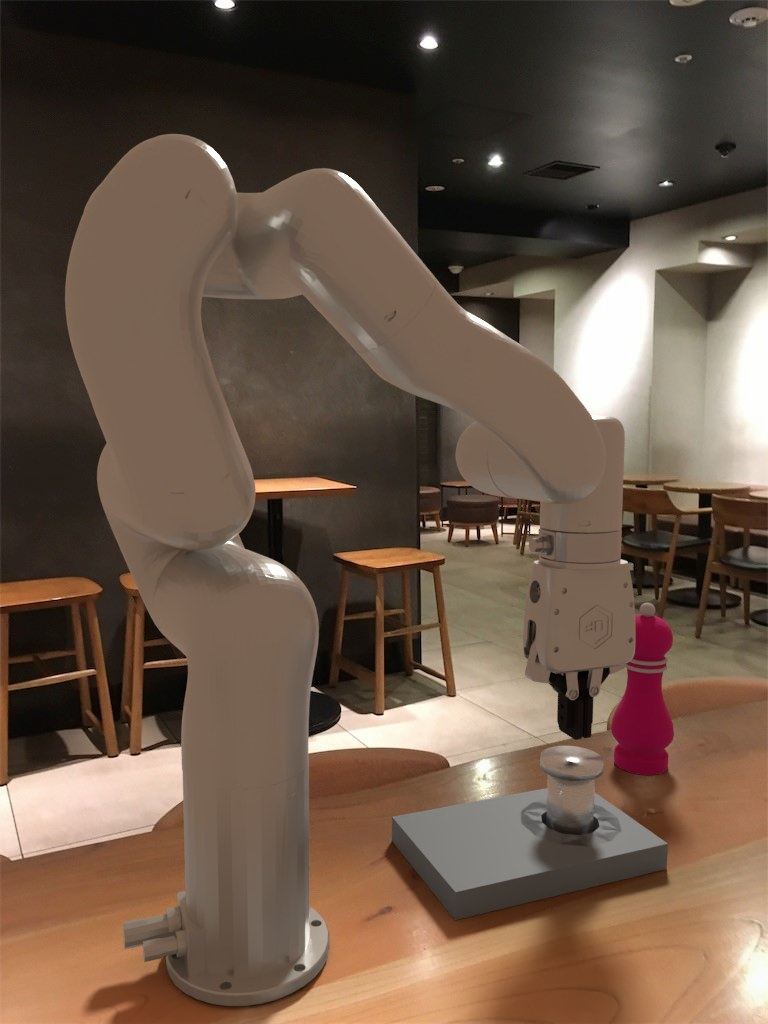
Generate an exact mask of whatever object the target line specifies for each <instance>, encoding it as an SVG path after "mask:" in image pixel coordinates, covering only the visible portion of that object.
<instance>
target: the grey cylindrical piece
mask: <svg viewBox="0 0 768 1024" xmlns="http://www.w3.org/2000/svg"><path fill="white" fill-rule="evenodd" d="M604 761H605V760H604V757H602V755H601V754H599V753H597V752H596V751H594V750H592V749H589V748H585V747H581V746H574V745H555V746H551V747H548V748H545V749H542V751H541V752H540V758H539V762H540V763H539V767H540V770H542V771H543V772H544V773H545V774H546V775H547V785H546V786H547V787H546V788H547V814H546V826H547V827H548V828H549V829H551V830H554V831H557V832H560V833H563V834H570V835H584V834H588V833H593V820H594V793H596V791H595V790H596V786H595V785H596V780H597V779H598V778H600V777H601V776H602V775H603V774H604V768H605V767H604V766H605V765H604V763H605V762H604Z"/></svg>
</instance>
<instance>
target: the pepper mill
mask: <svg viewBox="0 0 768 1024" xmlns="http://www.w3.org/2000/svg"><path fill="white" fill-rule="evenodd" d="M639 613H640V614H635V653H634V657H633V658H632V660H631V661H629V662H628V663H626V667H625V668H626V671H627V672H626V674H627V678H626V679H627V680H626V688H625V691H624V694H623V695H622V697H621V700H620V702H619V703H618V705H617V707H616V709H615V711H614V713H613V715H612V720H611V725H610V729H611V730H610V731H611V734H612V736H613V738H614V739H615V740H616V742H617V743H618V744H616V745H615V747H614V752H613V762H614V764H615V765H616V766H617V767H618V768H620V769H621V770H623V771H625V772H628V773H631V774H636V775H642V776H643V775H645V776H654V775H656V776H657V775H660V774H663V773H665V772H666V771H667V770H668V768H669V757H670V756H669V753H668V751H667V750H666V748H667V747H669V746H670V744H671V743H672V742H673V740H674V737H675V733H674V732H675V730H674V723H673V720H672V715H671V714H670V712H669V709H668V706H667V704H666V702H665V699H664V695H663V687H662V686H663V683H662V682H663V681H662V680H663V675H664V672H665V671H667V669H668V664H667V662H668V658H667V656H666V654H667V653H668V652H669V651H670V650H671V648H672V646H673V642H674V635H673V634H674V633H673V631H672V628H671V627H670V625H669V623H668V622H666V621H665V620H664V619H663V618H661V617H659V616H656V615H655V614H656V607H655V606H654V604H653V603H651V602H644V603H642V604H641V605H640V606H639Z"/></svg>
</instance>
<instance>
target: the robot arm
mask: <svg viewBox="0 0 768 1024" xmlns="http://www.w3.org/2000/svg"><path fill="white" fill-rule="evenodd" d="M65 276H66V277H65V287H64V295H65V296H64V304H65V307H64V308H65V317H66V325H67V330H68V331H67V332H68V336H69V339H70V344H71V348H72V352H73V355H74V359H75V362H76V364H77V367H78V371H79V372H80V377H81V378H82V381H83V384H84V387H85V388H86V391H87V394H88V397H89V399H90V402H91V405H92V408H93V411H94V414H95V416H96V419H97V421H98V424H99V427H100V429H101V431H102V434H103V438H104V440H105V442H106V444H105V445H104V446H103V449H102V451H101V454H100V456H99V460H98V464H97V470H96V481H97V490H98V494H99V498H100V503H101V505H102V508H103V511H104V513H105V517H106V519H107V521H108V524H109V526H110V529H111V531H112V533H113V536H114V538H115V540H116V542H117V544H118V547H119V549H120V552H121V554H122V556H123V558H124V561H125V564H126V565H127V568H128V570H129V572H130V574H131V577H132V580H133V581H134V584H135V586H136V588H137V590H138V593H139V594H140V597H141V599H142V601H143V604H144V605H145V608H146V610H147V613H148V614H149V616H150V618H151V619H152V620H151V621H153V623H154V626H156V627H157V629H158V630H159V632H160V633H161V634H162V636H164V637H165V638H166V639H167V640H168V641H169V642H170V643H171V644H172V645H173V647H175V648H177V649H178V650H179V651H180V652H181V653H182V654H183V655H184V656H185V657H186V660H187V662H186V663H187V681H186V682H187V683H186V687H185V688H186V690H185V693H184V694H185V695H184V701H183V707H182V708H183V709H182V716H181V717H182V719H181V735H180V736H181V739H180V740H181V741H180V744H181V745H180V746H181V749H180V750H181V770H182V798H183V799H182V801H183V803H182V804H183V807H182V809H183V837H184V838H183V839H184V840H183V842H184V845H183V846H184V879H185V880H184V882H185V883H184V885H185V886H184V887H185V888H184V889H185V890H182V891H179V892H177V894H176V902H177V904H176V905H177V906H174V907H169V908H166V909H164V914H159V915H154V916H149V917H147V916H144V917H139V918H134V919H131V920H125V921H122V939H123V947H124V950H128V949H133V948H137V947H142V956H143V963H146V962H151V961H154V960H160V959H162V958H163V957H165V962H166V963H165V964H166V966H165V967H166V970H167V973H168V977H169V978H170V979H171V981H172V983H173V984H174V985H175V986H176V987H177V988H179V990H180V991H182V992H183V993H185V995H188V996H190V997H192V998H194V999H196V1000H198V1001H201V1002H204V1003H208V1004H211V1005H218V1006H225V1007H247V1006H254V1005H261V1004H265V1003H268V1002H270V1003H271V1002H273V1001H277V1000H279V999H283V998H284V997H287V996H289V995H291V994H293V993H294V992H297V991H298V990H300V989H301V988H304V987H305V986H306V985H307V984H308V983H310V982H311V981H312V980H314V978H316V976H317V975H318V974H319V973H320V972H321V970H322V969H323V968H324V966H325V964H326V962H327V959H328V958H329V953H330V931H329V927H328V924H327V923H326V921H325V920H324V918H323V916H322V915H321V914H320V913H319V912H318V911H317V910H316V909H315V908H313V907H312V906H311V905H310V776H309V775H310V772H309V771H310V764H309V763H310V757H309V729H310V727H309V723H310V721H309V720H310V719H309V718H310V703H311V702H310V701H311V690H312V682H313V677H314V671H315V665H316V659H317V654H318V647H319V639H320V638H319V636H320V633H319V630H320V626H319V625H320V624H319V618H318V617H319V616H318V612H317V607H316V605H315V604H316V603H315V602H314V599H313V597H312V594H311V593H310V591H309V589H308V588H307V586H306V585H305V583H304V582H303V581H302V579H300V577H299V576H297V575H296V574H295V572H293V571H292V570H291V569H289V568H288V567H287V566H286V565H284V564H282V563H280V562H279V561H277V560H274V559H273V558H270V557H268V556H265V555H263V554H260V553H257V552H256V551H253V550H249V549H246V548H245V546H244V544H243V542H242V538H241V537H240V533H242V531H243V530H244V529H245V527H246V526H247V525H248V522H249V521H250V519H251V516H252V515H253V511H254V508H255V504H256V496H257V495H256V483H255V479H254V473H253V469H252V466H251V463H250V461H249V458H248V455H247V454H246V451H245V447H244V446H243V444H242V442H241V438H240V436H239V433H238V431H237V429H236V426H235V423H234V421H233V418H232V415H231V412H230V410H229V407H228V404H227V402H226V400H225V397H224V394H223V391H222V389H221V386H220V384H219V382H218V379H217V376H216V374H215V373H216V372H215V370H214V367H213V364H212V359H211V355H210V353H209V350H208V347H207V343H206V340H205V336H204V331H203V330H204V329H203V324H202V301H203V298H216V299H217V298H218V299H230V300H231V299H232V300H283V299H288V298H294V297H298V296H301V295H302V296H303V297H305V298H306V300H308V302H309V303H310V304H311V305H312V306H313V307H314V308H315V309H316V310H317V311H318V313H319V314H321V315H322V316H323V317H324V318H325V320H327V322H328V323H329V324H330V325H331V326H332V327H333V328H334V329H335V330H336V331H337V333H339V335H340V336H342V338H343V339H344V340H345V342H347V343H348V344H349V346H351V347H352V348H353V350H354V351H355V352H356V353H357V355H359V356H360V357H361V359H362V360H363V361H364V362H365V363H366V364H367V365H368V366H369V368H371V370H372V371H373V372H374V373H376V375H378V377H379V378H381V379H382V380H384V381H385V382H387V383H388V384H390V385H392V386H395V387H397V388H399V389H400V390H403V391H405V392H407V393H409V394H411V395H414V396H416V397H419V398H422V399H425V400H428V401H430V402H433V403H436V404H439V405H441V406H444V407H447V408H449V409H451V410H453V411H455V412H457V413H460V414H462V415H463V416H465V417H467V418H469V419H470V420H472V421H473V422H472V423H470V424H469V425H468V426H467V427H466V428H465V429H464V431H462V433H461V435H460V436H459V438H458V441H457V444H456V447H455V448H456V449H455V462H456V466H457V469H458V471H459V473H460V475H461V477H462V478H463V479H464V481H466V483H467V484H469V485H470V486H471V487H472V488H474V489H476V490H477V491H480V492H482V493H484V494H487V495H489V496H490V495H491V496H497V497H503V498H510V499H517V500H527V501H532V502H533V501H534V502H539V503H540V504H539V529H538V536H537V537H532V538H530V539H529V541H528V549H529V550H530V552H531V553H537V555H538V557H539V558H538V560H534V561H533V565H532V568H531V572H530V576H529V580H528V586H527V592H526V596H525V597H526V599H525V607H524V617H523V632H522V633H523V634H522V635H523V636H522V640H523V641H522V642H523V643H522V644H523V645H522V646H523V648H522V649H523V654H524V655H523V656H524V658H526V659H527V662H526V667H525V670H524V675H525V678H527V679H529V680H531V681H533V682H535V683H541V684H542V683H544V684H549V686H550V687H552V690H553V691H554V692H556V693H557V712H556V713H557V716H556V717H557V718H556V719H557V720H556V722H557V724H558V729H559V730H560V731H561V732H562V733H563V734H566V735H567V736H568V737H570V738H572V739H573V740H575V741H577V740H582V738H583V739H589V738H591V737H592V728H593V727H592V725H593V721H594V698H596V697H598V696H599V694H600V691H601V687H602V685H603V683H604V682H605V680H606V679H607V678H608V677H609V675H613V674H615V673H619V672H620V671H622V670H624V669H625V668H626V663H628V662H629V661H631V660H632V658H633V657H634V653H635V616H636V610H635V609H636V608H635V596H634V588H633V579H632V575H631V571H630V567H629V563H628V561H627V560H625V559H622V558H621V556H622V532H623V530H622V528H623V502H624V501H623V500H624V498H623V497H624V495H623V494H624V473H625V472H624V469H625V468H624V467H625V446H626V445H625V444H626V442H625V441H626V438H625V432H626V431H625V427H624V425H623V423H622V422H621V421H620V420H619V419H618V418H616V417H614V416H610V415H609V416H608V415H591V413H590V412H589V411H588V409H587V408H586V406H585V405H584V404H583V402H582V401H581V400H580V399H579V398H578V396H577V395H576V394H575V392H574V391H573V390H572V389H571V387H570V386H569V385H568V383H566V381H565V380H564V379H563V378H562V377H561V376H560V374H559V373H558V372H556V370H555V369H553V367H551V365H549V364H548V363H546V361H544V360H543V359H542V358H540V357H539V356H538V355H536V354H535V353H533V352H532V351H531V350H529V349H528V348H526V347H524V346H523V345H522V344H520V343H518V342H517V341H515V340H513V339H512V338H511V337H509V336H507V335H506V334H505V333H503V332H502V331H500V330H499V329H497V328H495V327H494V326H493V325H491V324H489V323H488V322H487V321H484V320H483V319H481V318H480V317H477V316H476V315H474V314H472V313H471V312H469V311H467V310H466V309H464V308H463V307H462V306H461V305H460V304H458V303H457V301H456V300H455V299H454V298H453V297H452V296H451V295H450V293H449V292H448V291H447V290H446V289H445V287H444V286H443V285H442V284H441V283H440V281H439V280H438V279H437V277H435V275H434V274H433V273H432V271H430V269H429V268H428V267H427V265H426V264H425V263H424V262H423V260H422V259H421V258H420V257H419V256H418V254H416V252H415V251H414V250H413V249H412V247H411V246H410V245H409V244H408V242H407V241H406V240H405V239H404V237H403V236H402V235H401V234H400V232H398V230H397V229H396V228H395V226H393V224H392V222H390V220H389V219H388V218H387V217H386V215H384V213H383V212H382V210H380V208H379V207H378V206H377V205H376V203H375V202H374V201H373V200H372V198H370V196H369V195H368V194H367V193H366V192H365V191H364V189H363V188H362V187H361V186H360V185H359V184H358V183H357V182H356V181H355V180H354V179H352V178H351V177H349V176H348V175H347V174H345V173H343V172H341V171H338V170H336V169H332V168H327V167H326V168H325V167H322V168H312V169H308V170H305V171H301V172H298V173H296V174H294V175H292V176H290V177H288V178H286V179H284V180H282V181H280V182H279V183H277V184H275V185H273V186H271V187H269V188H268V189H266V190H264V191H263V192H237V189H236V186H235V182H234V179H233V176H232V174H231V172H230V169H229V167H228V165H227V164H226V162H225V161H224V160H223V159H222V157H221V156H220V154H219V153H217V151H215V150H214V148H213V147H211V146H210V145H209V144H207V143H206V142H205V141H203V140H201V139H199V138H196V137H194V136H191V135H186V134H179V133H168V134H167V133H166V134H160V135H157V136H154V137H151V138H149V139H146V140H144V141H142V142H140V143H138V144H136V145H135V146H134V147H132V148H131V149H129V150H128V152H127V153H126V154H124V155H123V157H121V159H120V160H119V161H118V162H117V163H116V164H115V165H114V166H113V168H112V169H111V170H110V171H109V172H108V174H107V175H106V176H105V177H104V179H103V180H102V181H101V183H100V184H99V185H98V186H97V187H96V189H94V190H93V192H92V194H91V195H90V197H89V199H88V201H87V202H86V205H85V207H84V209H83V214H82V215H81V218H80V221H79V223H78V226H77V229H76V232H75V235H74V239H73V242H72V246H71V250H70V253H69V258H68V264H67V270H66V275H65Z"/></svg>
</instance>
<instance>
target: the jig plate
mask: <svg viewBox="0 0 768 1024" xmlns="http://www.w3.org/2000/svg"><path fill="white" fill-rule="evenodd" d="M546 814H547V787H546V788H541V789H535V790H528V791H524V792H518V793H513V794H508V795H502V796H498V797H497V796H496V797H491V798H487V799H480V800H477V801H476V800H475V801H468V802H465V803H459V804H453V805H448V806H443V807H442V806H441V807H437V808H433V809H427V810H422V811H415V812H410V813H405V814H400V815H399V814H398V815H395V816H391V841H392V843H393V844H394V845H395V846H396V848H397V849H398V850H399V852H400V854H402V855H403V857H404V858H405V859H406V860H407V862H408V863H409V864H410V865H411V867H412V868H413V869H414V871H415V872H416V873H417V874H418V876H419V877H420V878H421V879H422V881H423V882H424V883H425V884H426V886H427V887H428V888H429V890H430V891H431V892H432V893H433V894H434V895H435V897H436V898H437V899H438V901H439V902H440V903H441V904H442V906H443V908H444V909H445V910H446V911H447V912H448V913H449V915H451V917H452V918H453V920H454V921H457V920H461V919H465V918H469V917H475V916H477V915H483V914H486V913H490V912H495V911H498V910H503V909H507V908H511V907H515V906H519V905H524V904H528V903H531V902H536V901H540V900H544V899H549V898H552V897H557V896H561V895H565V894H569V893H573V892H577V891H582V890H585V889H590V888H593V887H597V886H602V885H605V884H610V883H615V882H618V881H621V880H622V881H623V880H626V879H630V878H631V879H632V878H635V877H636V878H637V877H638V876H639V877H640V876H643V875H647V874H648V875H649V874H652V873H655V872H660V871H664V870H667V868H668V851H669V849H668V848H669V843H668V842H666V841H665V840H663V839H662V838H661V837H659V836H657V834H655V833H653V831H652V830H649V829H648V828H646V827H645V826H644V825H642V824H640V823H639V822H638V821H637V820H635V819H633V818H632V817H631V816H630V815H628V814H626V813H625V812H624V811H622V810H621V809H619V808H618V807H617V806H615V805H613V804H612V803H611V802H609V801H608V800H606V799H605V798H603V797H602V796H601V795H599V794H598V793H597V792H595V793H594V820H593V833H588V834H584V835H570V834H563V833H560V832H557V831H554V830H551V829H549V828H548V827H547V826H546Z"/></svg>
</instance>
